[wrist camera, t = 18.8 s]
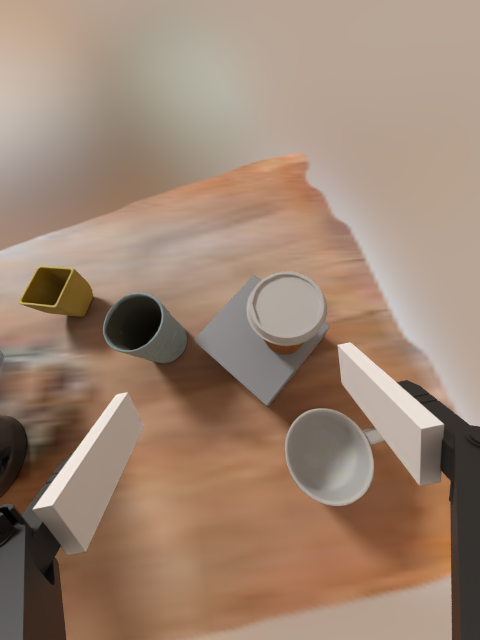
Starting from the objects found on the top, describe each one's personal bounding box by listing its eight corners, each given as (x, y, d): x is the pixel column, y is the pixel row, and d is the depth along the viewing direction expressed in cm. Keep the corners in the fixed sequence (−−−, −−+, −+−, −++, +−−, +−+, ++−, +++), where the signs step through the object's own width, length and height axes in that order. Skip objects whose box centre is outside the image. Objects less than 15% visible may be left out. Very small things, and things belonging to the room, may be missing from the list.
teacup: (291, 492, 36) (294, 511, 28) (278, 414, 40) (278, 413, 33) (388, 482, 34) (418, 499, 27) (363, 403, 39) (383, 399, 31)
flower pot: (104, 289, 56) (74, 267, 47) (90, 324, 52) (54, 307, 44) (72, 287, 57) (38, 265, 49) (57, 321, 54) (17, 303, 46)
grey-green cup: (198, 350, 46) (173, 329, 35) (152, 378, 46) (112, 365, 35) (178, 311, 50) (150, 281, 39) (135, 335, 50) (94, 312, 39)
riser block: (268, 407, 41) (266, 405, 35) (203, 349, 46) (193, 340, 41) (323, 337, 44) (329, 325, 38) (256, 290, 49) (253, 275, 44)
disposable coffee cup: (262, 304, 41) (256, 263, 30) (318, 314, 39) (334, 274, 28) (247, 356, 38) (235, 332, 27) (308, 371, 36) (321, 351, 25)
